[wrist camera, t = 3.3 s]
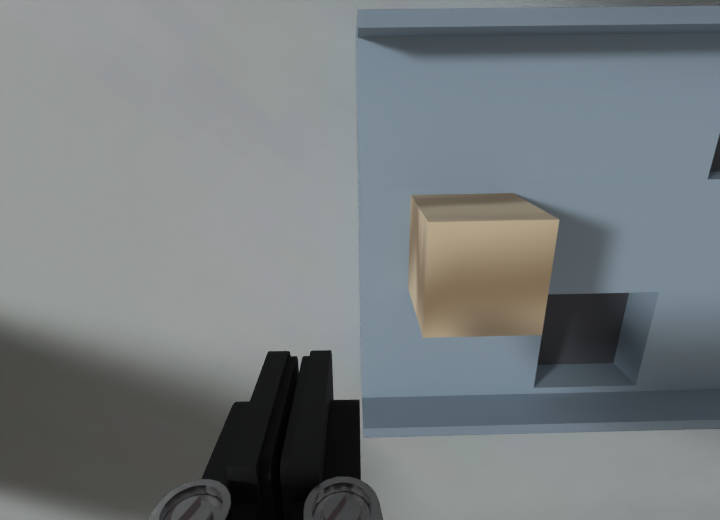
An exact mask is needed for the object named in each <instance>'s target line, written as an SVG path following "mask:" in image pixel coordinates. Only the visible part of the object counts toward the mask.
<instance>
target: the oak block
mask: <svg viewBox="0 0 720 520" xmlns="http://www.w3.org/2000/svg"><path fill="white" fill-rule="evenodd" d="M558 226H559V219H558V218H556V217H554V216H552V215H551V214H549V213H547V212H545V211H544V210H542V209H540V208H538V207H537V206H535V205H533V204H531V203H529V202H528V201H526V200H524V199H522V198H521V197H519V196H517V195H515V194H514V193H487V194H430V195H411V204H410V240H409V276H408V290H409V293H410V296H411V300H412V303H413V306H414V310H415V313H416V316H417V319H418V323H419V326H420V329H421V332H422V336H423V338H435V337H480V336H524V335H542V331H543V325H544V318H545V311H546V305H547V298H548V292H549V285H550V279H551V272H552V266H553V259H554V252H555V246H556V239H557V233H558Z"/></svg>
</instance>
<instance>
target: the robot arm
mask: <svg viewBox="0 0 720 520" xmlns="http://www.w3.org/2000/svg"><path fill="white" fill-rule="evenodd" d="M147 520H383V516H382V512H381V507H380V503H379V500H378V498H377V495H376V493H375V491H374V490H373V489H372V488H371V487H370V486H369V485H368V484H366V483H365V482H363V481H361V469H360V405H359V400H333V375H332V353H331V350H327V351H311V352H310V356H303V358H302V362H301V367H300V371H299V369H298V358H297V356H293V357H291V355H290V352H289V351H269V352H268V353H267V356H266V359H265V362H264V364H263V367H262V370H261V373H260V375H259V378H258V381H257V383H256V386H255V389H254V392H253V394H252V397H251V400H250V402H235V403H234V404H233V406H232V408H231V410H230V413H229V415H228V417H227V420H226V422H225V424H224V427H223V429H222V432H221V434H220V436H219V439H218V441H217V443H216V446H215V448H214V451H213V453H212V455H211V458H210V460H209V463H208V465H207V467H206V470H205V472H204V474H203V477H202V479H198V480H194V481H190V482H186V483H184V484H182V485H180V486H178V487H176V488H174V489H173V490H172V491H170V492H169V493H168V494H166V495H165V496H164V497H163V498H162V499H161V501H160V502H159V503H158V504H157V505H156V507H155V508H154V510H153V511H152V512H151V514H150V515H149V517H148V518H147Z"/></svg>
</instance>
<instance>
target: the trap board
mask: <svg viewBox="0 0 720 520" xmlns="http://www.w3.org/2000/svg"><path fill="white" fill-rule="evenodd" d="M356 47H357V116H358V184H359V253H360V322H361V384H362V410H363V436H364V438H373V437H412V436H451V435H490V434H528V433H567V432H606V431H645V430H684V429H720V6H636V7H547V8H457V9H367V10H358V15H357V27H356ZM487 193H514V194H515V195H517V196H519V197H521V198H522V199H524V200H526V201H528V202H529V203H531V204H533V205H535V206H537V207H538V208H540V209H542V210H544V211H545V212H547V213H549V214H551V215H552V216H554V217H556V218H558V219H559V226H558V233H557V239H556V246H555V252H554V259H553V266H552V272H551V279H550V285H549V292H548V298H547V305H546V311H545V318H544V325H543V331H542V335H524V336H480V337H435V338H423V336H422V332H421V329H420V326H419V323H418V319H417V316H416V313H415V310H414V306H413V303H412V300H411V296H410V293H409V290H408V276H409V240H410V204H411V195H430V194H487Z"/></svg>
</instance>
